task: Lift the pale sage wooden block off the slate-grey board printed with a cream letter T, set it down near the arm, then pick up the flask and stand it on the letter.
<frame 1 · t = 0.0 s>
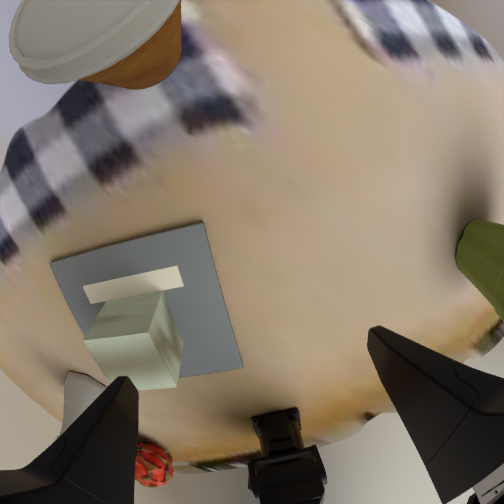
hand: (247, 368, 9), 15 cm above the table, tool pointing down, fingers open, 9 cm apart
disposable coffee cup: (144, 56, 16), on the table
flask: (88, 388, 28), on the table
sage block: (144, 322, 24), point 1 cm above the table, touching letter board
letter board: (146, 318, 24), on the table
dragon fruit: (149, 445, 34), on the table
plant pot: (470, 245, 26), on the table
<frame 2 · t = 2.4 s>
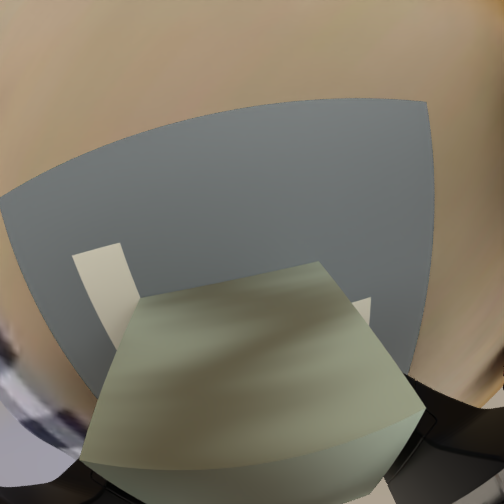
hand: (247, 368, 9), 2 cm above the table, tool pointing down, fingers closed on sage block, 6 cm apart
sage block: (245, 350, 10), point 1 cm above the table, touching gripper, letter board
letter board: (244, 339, 10), on the table
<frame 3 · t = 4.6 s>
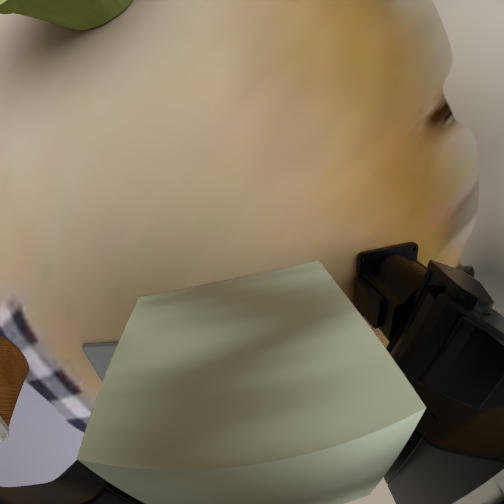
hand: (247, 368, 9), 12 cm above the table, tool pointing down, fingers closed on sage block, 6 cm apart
disposable coffee cup: (12, 354, 22), on the table
sage block: (244, 349, 10), point 11 cm above the table, touching gripper
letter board: (178, 393, 26), on the table
when the fingers open (2 cm above the table, at t = 7.2 s): sage block drops 2 cm, on the table.
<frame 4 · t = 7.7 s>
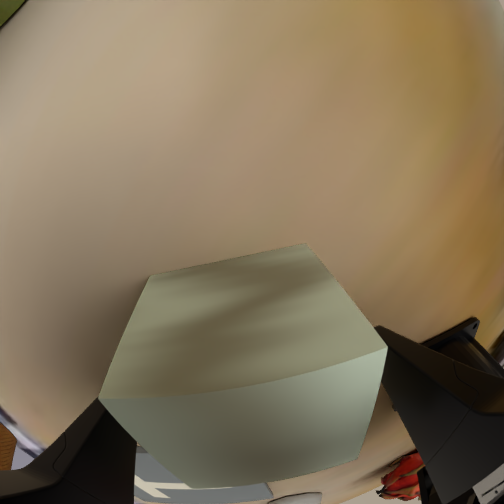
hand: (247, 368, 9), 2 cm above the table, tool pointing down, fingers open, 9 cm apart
flask: (293, 498, 23), on the table
sage block: (242, 323, 11), on the table
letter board: (177, 481, 18), on the table
dragon fruit: (408, 455, 23), on the table
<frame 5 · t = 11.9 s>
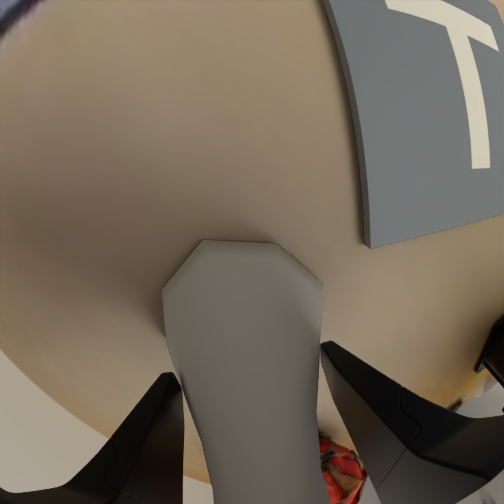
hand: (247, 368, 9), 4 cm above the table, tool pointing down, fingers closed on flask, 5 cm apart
flask: (240, 310, 12), on the table, touching gripper
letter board: (463, 79, 9), on the table
dragon fruit: (302, 447, 18), on the table
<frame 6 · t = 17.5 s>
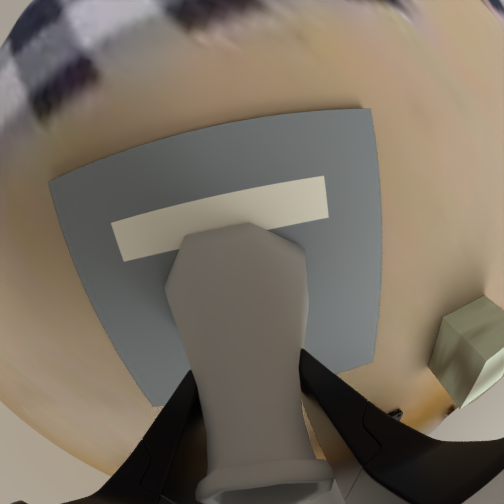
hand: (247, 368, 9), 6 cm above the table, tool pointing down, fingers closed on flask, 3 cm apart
flask: (238, 289, 14), resting on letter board, touching gripper
sage block: (457, 331, 18), on the table
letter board: (236, 289, 14), on the table
when the fingers open (6 cm above the table, at t = 17.5 s): flask stays where it is, resting on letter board.
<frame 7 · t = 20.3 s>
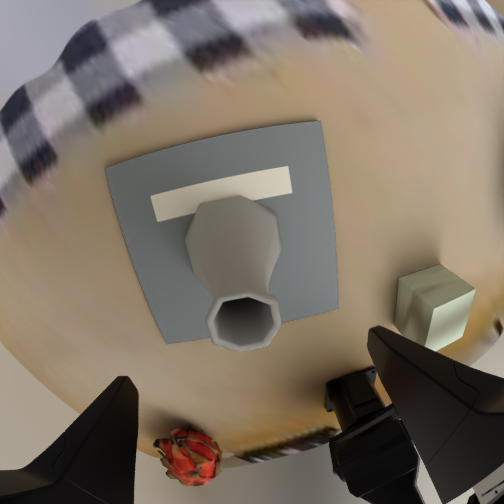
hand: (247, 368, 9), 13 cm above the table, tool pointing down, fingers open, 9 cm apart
flask: (233, 241, 20), resting on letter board
sage block: (417, 294, 25), on the table
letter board: (232, 242, 21), on the table
dragon fruit: (190, 434, 31), on the table
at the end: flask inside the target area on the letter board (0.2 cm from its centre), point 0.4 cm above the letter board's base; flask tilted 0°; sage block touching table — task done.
